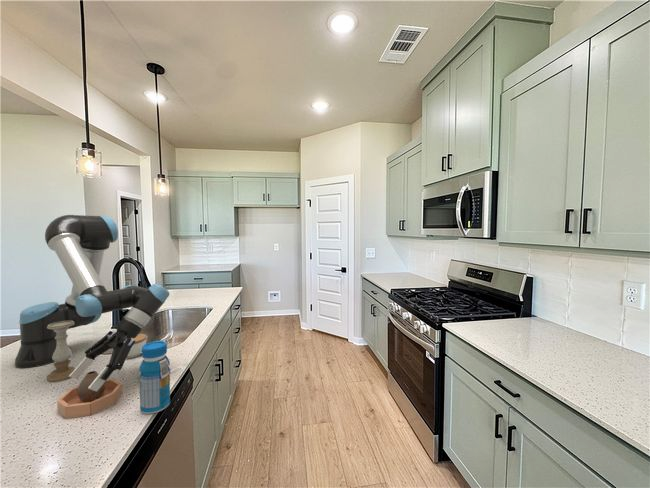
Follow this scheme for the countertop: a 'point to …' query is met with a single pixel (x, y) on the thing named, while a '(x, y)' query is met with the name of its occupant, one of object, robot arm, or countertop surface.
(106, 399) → the terracotta dish
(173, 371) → the fork
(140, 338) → the lidded jar
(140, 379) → the beverage bottle
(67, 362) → the candle holder
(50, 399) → the countertop surface
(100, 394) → the vase
